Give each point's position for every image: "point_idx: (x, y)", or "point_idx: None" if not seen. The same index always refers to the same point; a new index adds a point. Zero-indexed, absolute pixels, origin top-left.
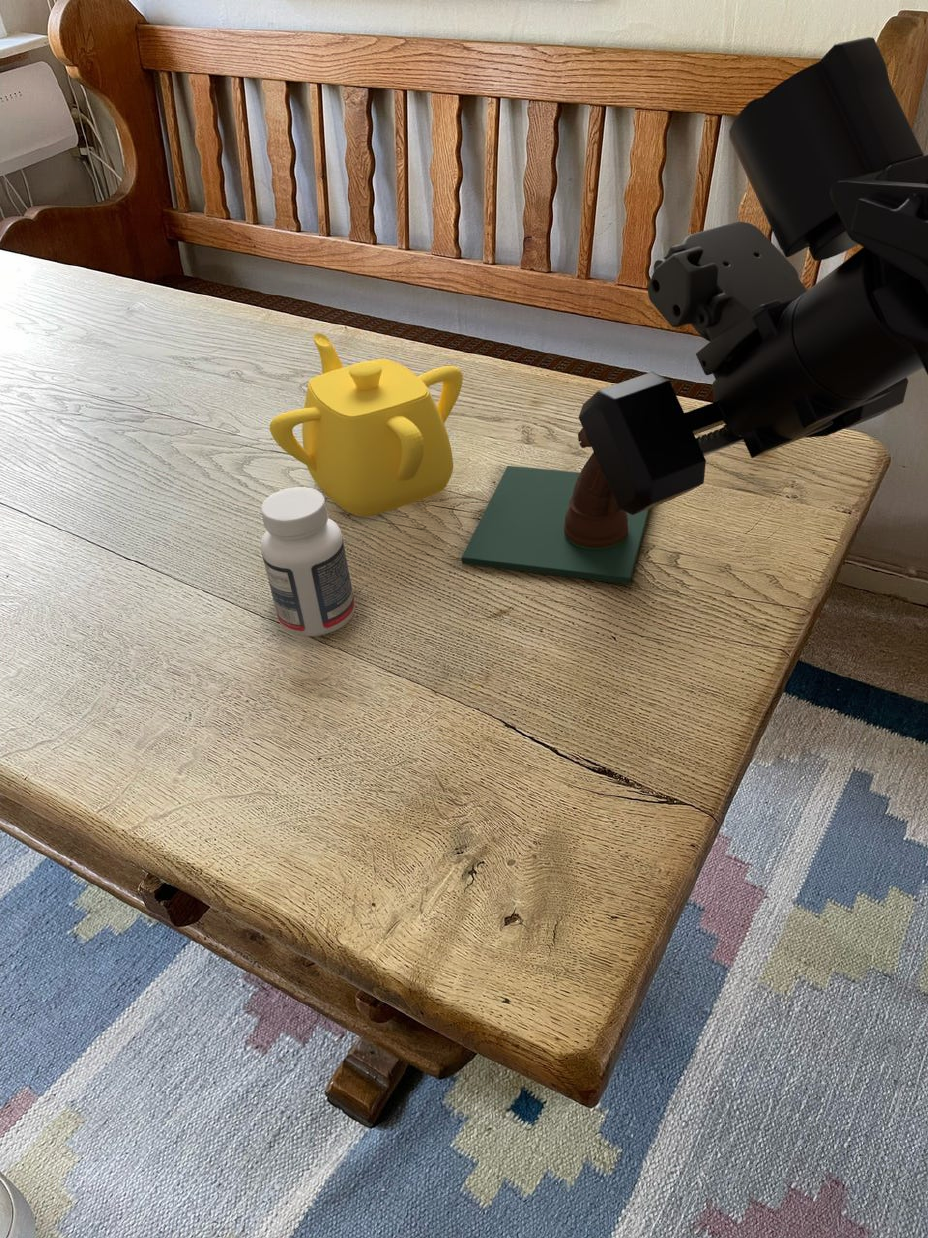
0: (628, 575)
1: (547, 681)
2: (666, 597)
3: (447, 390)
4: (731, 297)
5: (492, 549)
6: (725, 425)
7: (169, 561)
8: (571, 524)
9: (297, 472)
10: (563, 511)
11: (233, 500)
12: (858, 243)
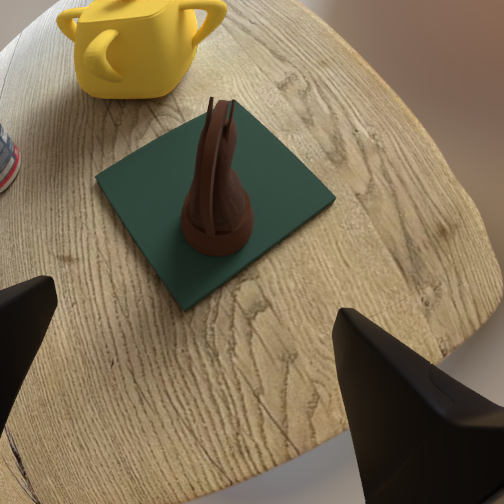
0: (186, 305)
1: (35, 359)
2: (200, 354)
3: (207, 18)
4: None
5: (121, 183)
6: (342, 313)
7: (10, 87)
8: (182, 209)
9: None
10: None
11: (73, 52)
12: None
